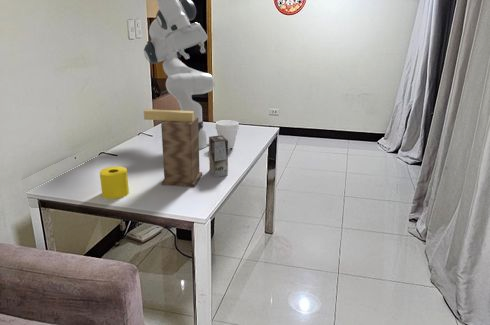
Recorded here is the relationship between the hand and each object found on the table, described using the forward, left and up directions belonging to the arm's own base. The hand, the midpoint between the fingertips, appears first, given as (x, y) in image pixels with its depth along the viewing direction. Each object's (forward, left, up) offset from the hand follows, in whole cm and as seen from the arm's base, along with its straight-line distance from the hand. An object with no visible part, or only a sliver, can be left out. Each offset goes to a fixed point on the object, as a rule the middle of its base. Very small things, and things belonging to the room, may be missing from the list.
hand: (195, 55), depth 179 cm
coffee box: (+19, +3, -50) cm, 53 cm away
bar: (+19, -17, -24) cm, 35 cm away
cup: (-15, +20, -50) cm, 56 cm away
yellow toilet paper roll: (+27, -42, -50) cm, 70 cm away
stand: (+22, -14, -50) cm, 56 cm away
